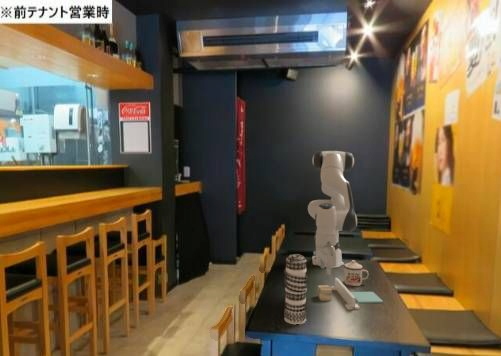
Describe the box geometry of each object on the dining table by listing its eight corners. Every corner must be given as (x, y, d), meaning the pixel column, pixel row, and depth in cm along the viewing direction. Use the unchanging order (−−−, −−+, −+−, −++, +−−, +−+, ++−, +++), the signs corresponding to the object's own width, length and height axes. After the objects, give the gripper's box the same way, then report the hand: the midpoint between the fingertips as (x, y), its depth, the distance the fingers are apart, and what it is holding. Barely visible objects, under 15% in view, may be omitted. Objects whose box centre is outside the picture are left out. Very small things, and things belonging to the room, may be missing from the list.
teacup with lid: (344, 285, 167) (344, 262, 166) (343, 279, 175) (343, 257, 175) (369, 287, 164) (370, 264, 164) (367, 281, 173) (367, 259, 173)
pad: (349, 293, 157) (349, 291, 157) (372, 293, 158) (372, 291, 158) (358, 302, 146) (358, 301, 146) (383, 302, 147) (383, 301, 147)
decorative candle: (291, 311, 137) (292, 251, 135) (311, 318, 131) (312, 255, 130) (278, 319, 129) (279, 255, 128) (299, 327, 124) (300, 260, 123)
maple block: (317, 296, 153) (317, 285, 153) (328, 296, 154) (328, 285, 153) (320, 300, 148) (320, 289, 148) (331, 300, 149) (331, 289, 148)
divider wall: (331, 288, 163) (331, 278, 163) (341, 288, 163) (341, 277, 163) (347, 309, 139) (348, 297, 139) (359, 309, 139) (359, 297, 139)
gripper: (340, 245, 139) (339, 278, 140) (326, 235, 160) (326, 264, 160) (325, 245, 139) (324, 278, 139) (313, 235, 159) (313, 264, 160)
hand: (325, 270), depth 150 cm, fingers open, 8 cm apart
